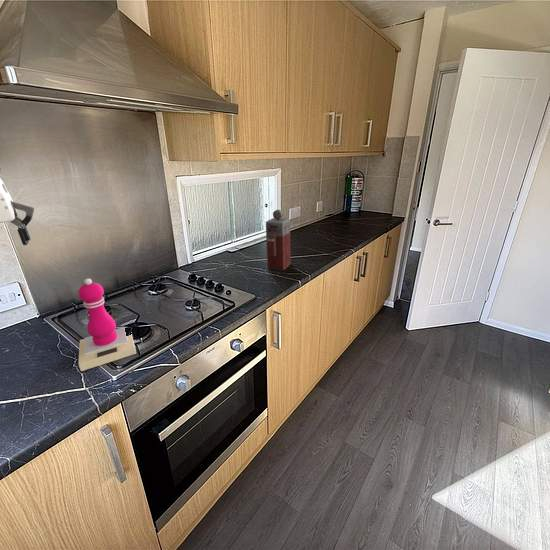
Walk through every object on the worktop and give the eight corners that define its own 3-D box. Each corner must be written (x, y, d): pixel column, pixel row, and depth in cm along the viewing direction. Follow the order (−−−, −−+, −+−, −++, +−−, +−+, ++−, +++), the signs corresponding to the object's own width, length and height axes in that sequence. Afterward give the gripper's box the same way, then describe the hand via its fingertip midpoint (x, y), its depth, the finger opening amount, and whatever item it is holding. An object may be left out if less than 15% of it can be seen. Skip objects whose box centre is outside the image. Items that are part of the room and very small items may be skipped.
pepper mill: (120, 330, 92) (103, 271, 84) (117, 343, 86) (99, 281, 78) (94, 336, 89) (74, 276, 82) (89, 349, 83) (68, 286, 75)
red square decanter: (265, 269, 143) (262, 212, 132) (274, 261, 152) (272, 207, 141) (282, 272, 140) (280, 213, 129) (290, 264, 149) (290, 208, 138)
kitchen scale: (81, 371, 79) (77, 362, 78) (81, 346, 90) (79, 338, 89) (136, 353, 86) (134, 345, 85) (131, 332, 96) (129, 324, 95)
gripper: (22, 168, 70) (46, 237, 77) (-80, 173, 62) (-43, 250, 69) (16, 169, 64) (43, 244, 71) (-98, 175, 56) (-55, 259, 63)
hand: (1, 247), depth 70 cm, fingers open, 9 cm apart
